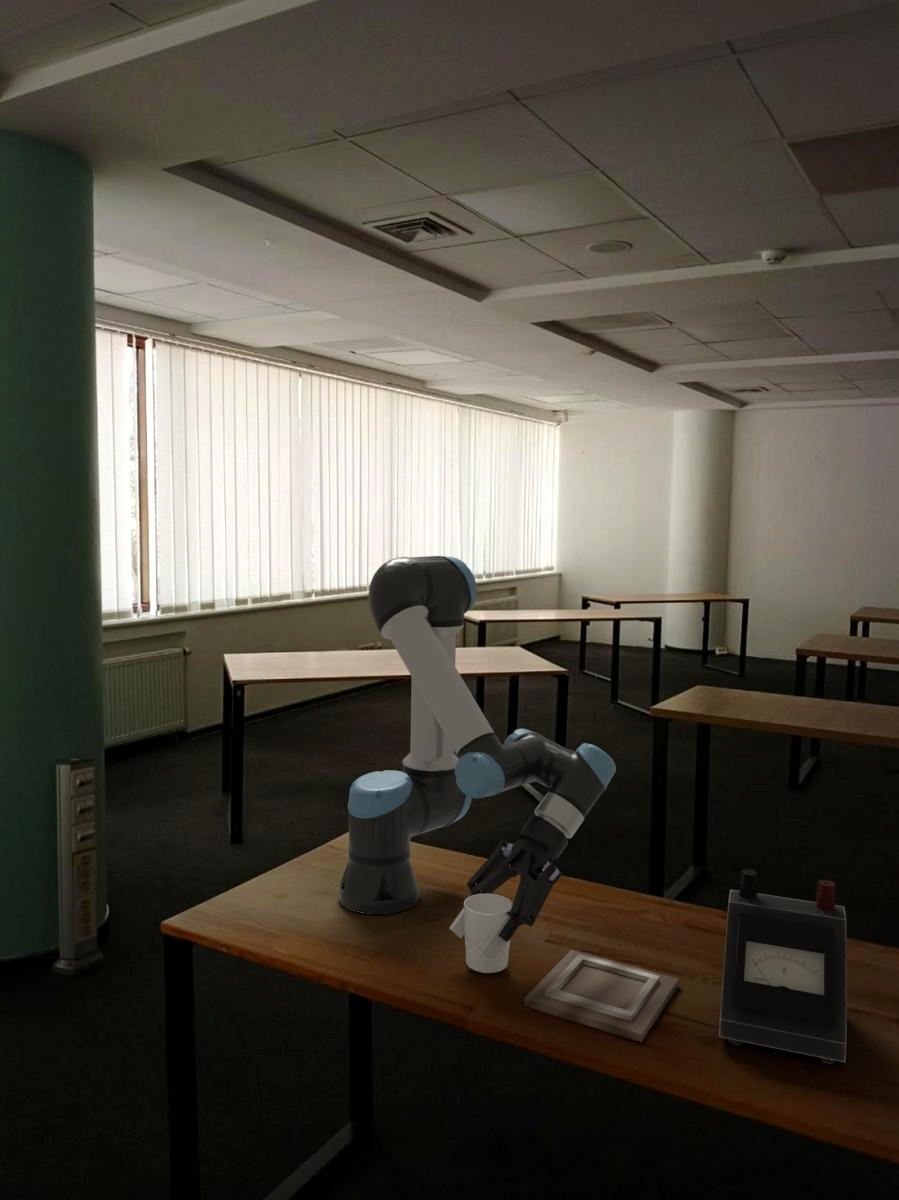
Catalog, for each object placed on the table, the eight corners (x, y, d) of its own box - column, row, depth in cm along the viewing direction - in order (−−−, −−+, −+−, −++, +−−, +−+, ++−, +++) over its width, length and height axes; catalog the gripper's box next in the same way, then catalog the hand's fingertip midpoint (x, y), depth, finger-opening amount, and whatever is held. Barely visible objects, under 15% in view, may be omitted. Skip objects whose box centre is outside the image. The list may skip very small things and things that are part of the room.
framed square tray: (524, 1005, 136) (524, 993, 135) (571, 956, 151) (571, 945, 151) (641, 1042, 127) (641, 1028, 126) (678, 986, 142) (678, 973, 142)
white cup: (477, 979, 141) (479, 918, 140) (453, 957, 148) (455, 898, 147) (520, 969, 145) (522, 908, 144) (495, 947, 152) (497, 889, 151)
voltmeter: (718, 1047, 126) (724, 908, 124) (725, 991, 141) (731, 866, 139) (844, 1074, 120) (853, 928, 118) (838, 1011, 136) (845, 882, 134)
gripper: (605, 859, 145) (524, 983, 138) (523, 821, 162) (446, 930, 154) (582, 833, 142) (497, 959, 134) (501, 797, 158) (421, 907, 151)
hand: (470, 943), depth 144 cm, fingers closed on white cup, 8 cm apart
